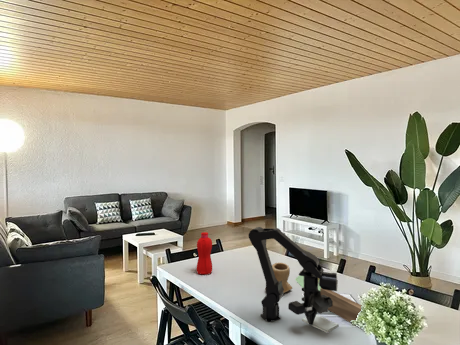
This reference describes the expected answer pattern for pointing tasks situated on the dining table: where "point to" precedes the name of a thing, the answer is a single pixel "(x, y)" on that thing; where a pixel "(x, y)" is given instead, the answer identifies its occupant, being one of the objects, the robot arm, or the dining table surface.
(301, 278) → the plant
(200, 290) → the dining table surface
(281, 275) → the stone cup
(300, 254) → the robot arm
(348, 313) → the walnut board
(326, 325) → the hard drive
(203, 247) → the water bottle
